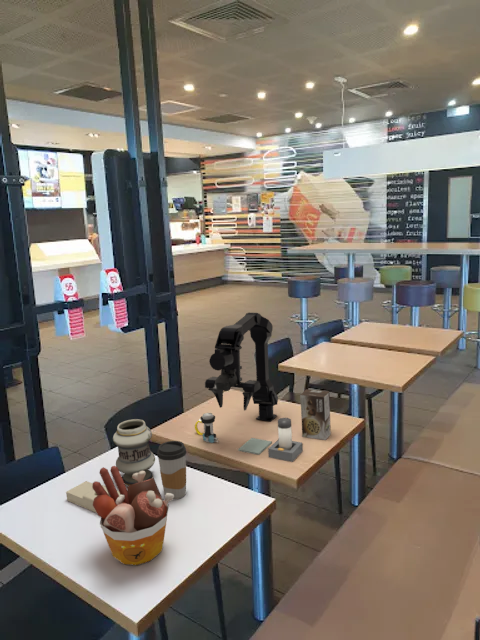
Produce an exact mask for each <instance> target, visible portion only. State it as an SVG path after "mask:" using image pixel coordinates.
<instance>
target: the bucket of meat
mask: <svg viewBox="0 0 480 640" xmlns="http://www.w3.org/2000/svg"><path fill="white" fill-rule="evenodd" d="M109 471H110V472H109ZM110 473H111V474H110ZM121 474H122V473H121V472H120V471H119V470H118V468H117V467H116V465H112V466H111V467H110V470H108V469H107V468H106V467H101V468H100V469H99V475H100V478H101V479H102V482H103V484H104V486H105V487H106V489H107V491H108V493H109V495H108V494H107V492H106V491H105V489H104V488H103V486H102V485H103V484H101V482H99V481H96V480H95V481H93V482H92V483H93V486H92V488H93V490H94V491H95V492H96V494H97V495H98V496H97V497H95V498H94V501H93V507H94V509H95V510H96V512H97V513H96V514H97V516H99V517H100V521H99V525H100V528H101V530H102V533H103V534H104V538H105V539H106V542H107V545H108V548H109V549H110V552H111V555H112V557H113V558H115V559H116V560H117V561H118V562H120V563H121V564H123V565H125V566H139V565H140V566H141V565H144V564H145V563H147V564H148V563H149V562H151V561H152V560H154V559H155V558H156V557H157V556H158V555H159V554H160V553H161V552H162V551H163V548H164V547H163V546H164V541H165V533H166V527H167V522H168V521H167V520H168V513H169V510H170V509H169V508H170V504H169V502H170V501H174V500H173V498H174V494H171V493H166V495H164V499H163V497H162V494H161V492H160V490H159V486H158V484H157V483H156V479H155V478H154V477H153V478H152V479H148V480H145V481H143V479H144V477H145V475H146V472H145V471H140V472H139V473H134V474H133V475H132V478H133V479H135V480H137V481H138V482H139V483H135V484H132V485H130V486H128V485H125V484H124V481H123V479H122V475H121ZM111 476H112V477H111ZM112 478H113V479H112ZM114 483H115V484H114ZM116 487H117V488H116ZM117 491H119V493H120V496H119V494H118V492H117Z"/></svg>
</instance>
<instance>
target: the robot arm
mask: <svg viewBox="0 0 480 640" xmlns="http://www.w3.org/2000/svg"><path fill="white" fill-rule="evenodd" d="M273 329H274V327H273V324H272V323H271V321H270V320H269V319H268V318H266V317H264V316H263V315H261V314H260V313H259V312H247V313H245V315H244V316H243V317H242V318H240V319H239V320H238V321H237V322H235V323H233V324H231V325H226V326H223V327H222V328H221V329H220V331H219V333H218V335H217V338H216V342H215V346H214V353H212V354H211V356H210V357H209V365H210V367H211V368H212V369H213V370H215V371H220V375H219V376H210V377H208V378H207V379H205V380H204V388H205V389H208V391H210V392H211V393H213V394H214V396H215V398H216V402H217V404H218V406H219V408H220V409H221V408H223V403H224V397H223V396H224V392H229V391H230V390H231V388H239V389H242V391H243V392H242V393H241V394H242V396H243V411H244V412H245V411H247V409H248V406H249V404H250V401H251V398H252V402H253V404H254V405H255V404H256V405H258V415H257V416H256V417H255V419H256V421H258V420H259V421H266V422H272V421H273V420H274V419H275V418H277V416H278V414H275V413H274V406H276V405H278V402H279V396H278V395H277V393H276V391H275V390H274V384H273V383H272V381H271V380H270V378H269V377H270V375H269V374H270V373H269V371H270V370H269V368H270V367H269V344H268V343H269V340H270V339H271V338H272V335H273ZM247 332H249V335H250V338H251V340H252V341H253V342H254V347H255V349H254V350H255V374H256V375H255V376H256V380H252V379H249V380H247V381H245V382H242V381H243V377H241V370H242V369H243V368H242V367H243V366H242V365H241V350H242V347H243V346H241V344H242V342H243V341H244V339H245V336H244V335H245V334H246V333H247Z"/></svg>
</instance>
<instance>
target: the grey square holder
mask: <svg viewBox="0 0 480 640" xmlns="http://www.w3.org/2000/svg"><path fill="white" fill-rule="evenodd" d="M303 447H304V446H303V442H302V441H296V440H295V441H294V440H292V449H291V450H290V451H289V450H284V449H283V448H279V438H278V439H277V440H276V441H274V443H272V444H271V446H269V447H267V448H268V449H267V453H268V458H269V459H276V460H280V461H287V462H291V463H293V462H295V460H296V459H297V457H299V456H300V455H301V454H302V452H303V449H304V448H303Z"/></svg>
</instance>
